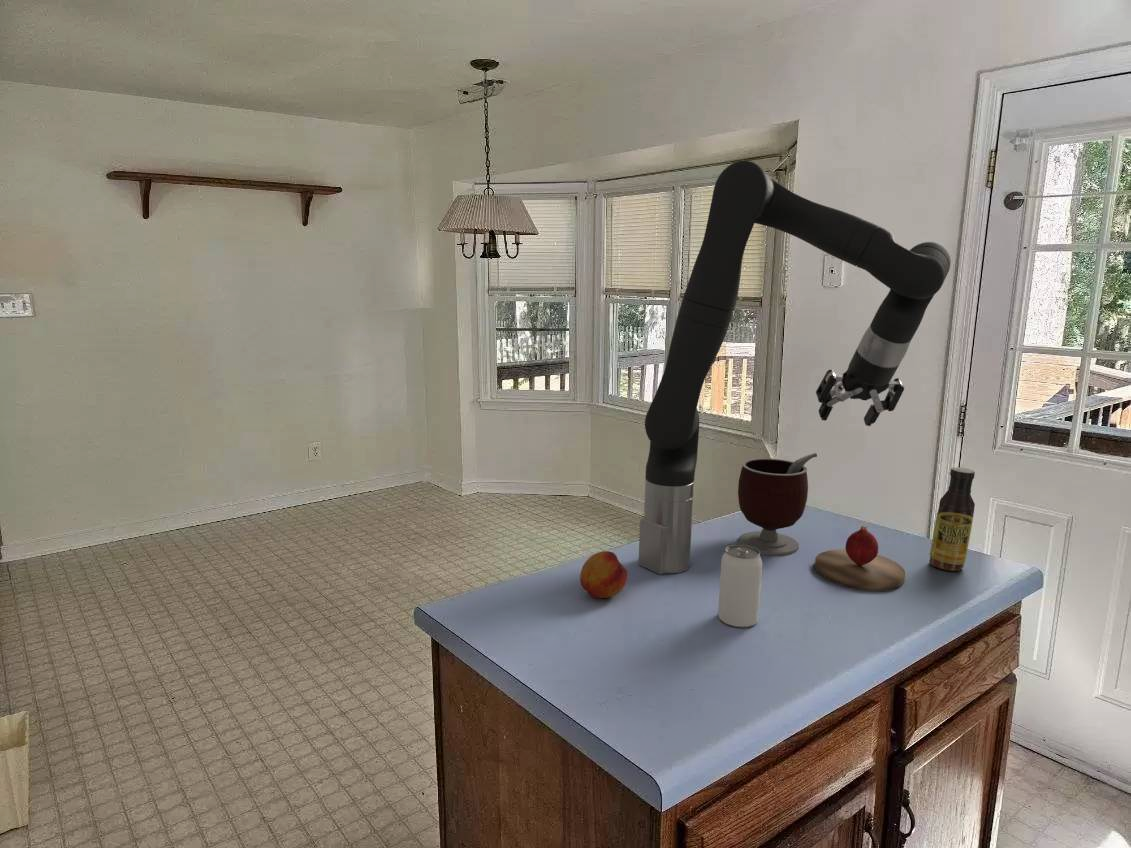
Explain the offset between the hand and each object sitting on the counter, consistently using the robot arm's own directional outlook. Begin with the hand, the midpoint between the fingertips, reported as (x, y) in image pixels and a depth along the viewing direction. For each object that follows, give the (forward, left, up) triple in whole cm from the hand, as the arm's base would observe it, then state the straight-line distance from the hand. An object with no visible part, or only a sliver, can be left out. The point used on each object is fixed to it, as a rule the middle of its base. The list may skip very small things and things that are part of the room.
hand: (844, 420), depth 137 cm
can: (-34, -4, -29) cm, 45 cm away
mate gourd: (-1, +13, -29) cm, 32 cm away
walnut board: (0, -6, -29) cm, 29 cm away
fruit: (-46, +16, -29) cm, 57 cm away
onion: (0, -6, -28) cm, 28 cm away
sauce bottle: (+17, -15, -29) cm, 37 cm away
